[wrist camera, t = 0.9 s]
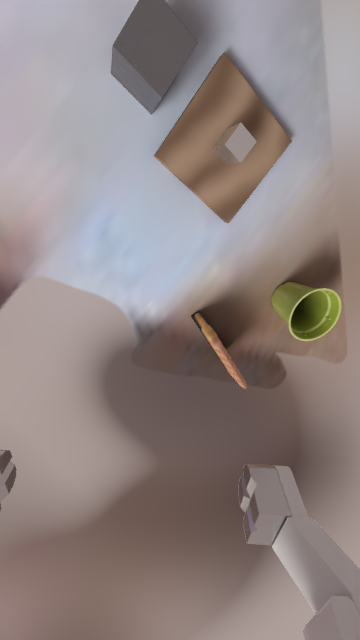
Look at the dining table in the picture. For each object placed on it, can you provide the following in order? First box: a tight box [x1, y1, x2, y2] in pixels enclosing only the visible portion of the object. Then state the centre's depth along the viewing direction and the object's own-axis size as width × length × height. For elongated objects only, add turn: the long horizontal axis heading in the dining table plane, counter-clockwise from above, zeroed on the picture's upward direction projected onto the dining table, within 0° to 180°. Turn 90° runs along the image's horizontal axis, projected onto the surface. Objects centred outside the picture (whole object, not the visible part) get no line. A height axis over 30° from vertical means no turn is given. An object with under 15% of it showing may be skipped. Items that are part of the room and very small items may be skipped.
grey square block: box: [111, 0, 198, 114], centre depth 31 cm, size 6×6×8 cm
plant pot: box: [272, 282, 341, 341], centre depth 49 cm, size 9×9×9 cm
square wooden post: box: [212, 122, 257, 165], centre depth 36 cm, size 3×3×4 cm
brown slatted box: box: [191, 311, 247, 389], centre depth 47 cm, size 11×2×12 cm, turn 31°
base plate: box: [154, 52, 291, 223], centre depth 39 cm, size 14×14×2 cm
